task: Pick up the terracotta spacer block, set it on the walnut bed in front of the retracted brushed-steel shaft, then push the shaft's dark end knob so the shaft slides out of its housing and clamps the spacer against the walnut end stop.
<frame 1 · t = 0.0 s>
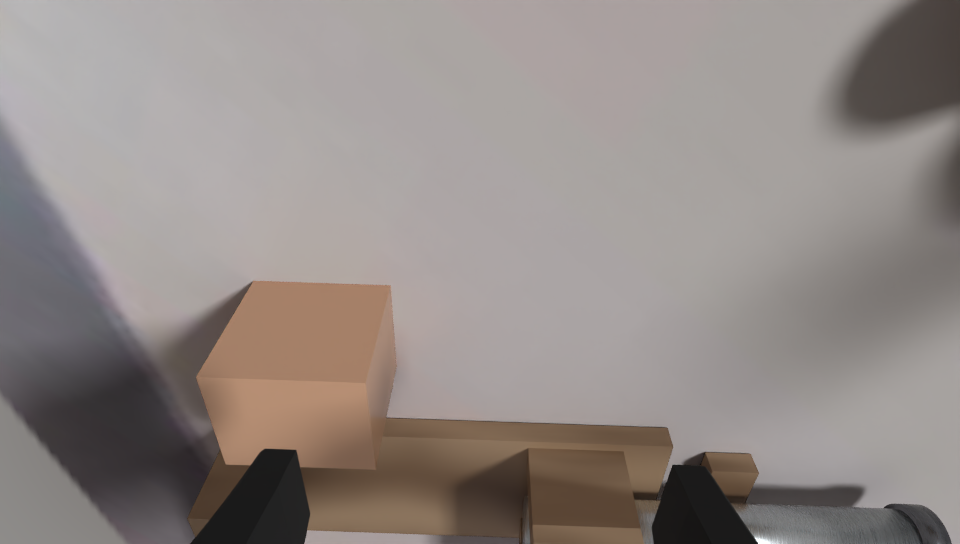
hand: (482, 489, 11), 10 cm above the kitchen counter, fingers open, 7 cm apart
spacer: (329, 324, 22), on the kitchen counter
shaft: (724, 535, 25), point 3 cm above the kitchen counter, slide at 0.0 cm
rig: (479, 472, 27), on the kitchen counter
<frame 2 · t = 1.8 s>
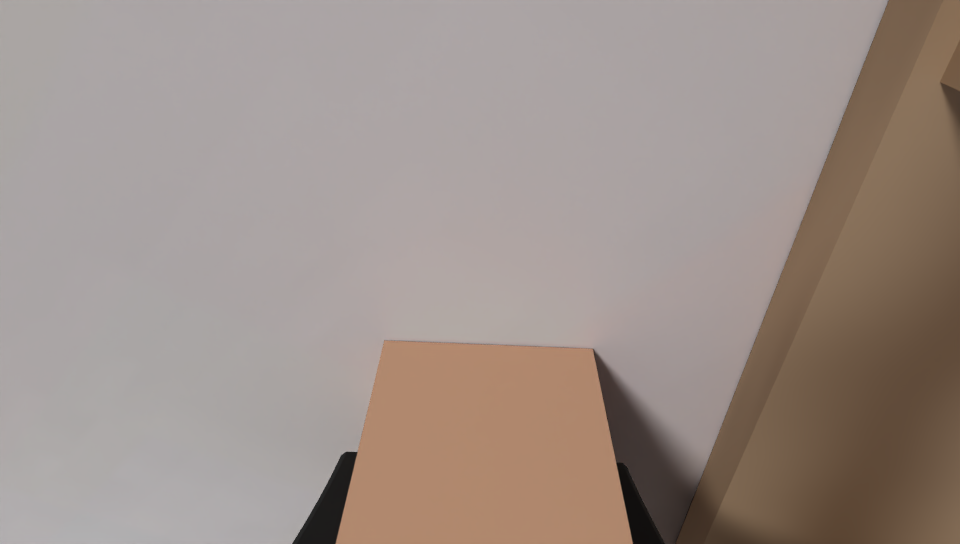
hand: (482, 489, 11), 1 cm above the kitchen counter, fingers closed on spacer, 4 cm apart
spacer: (483, 432, 13), on the kitchen counter, touching gripper
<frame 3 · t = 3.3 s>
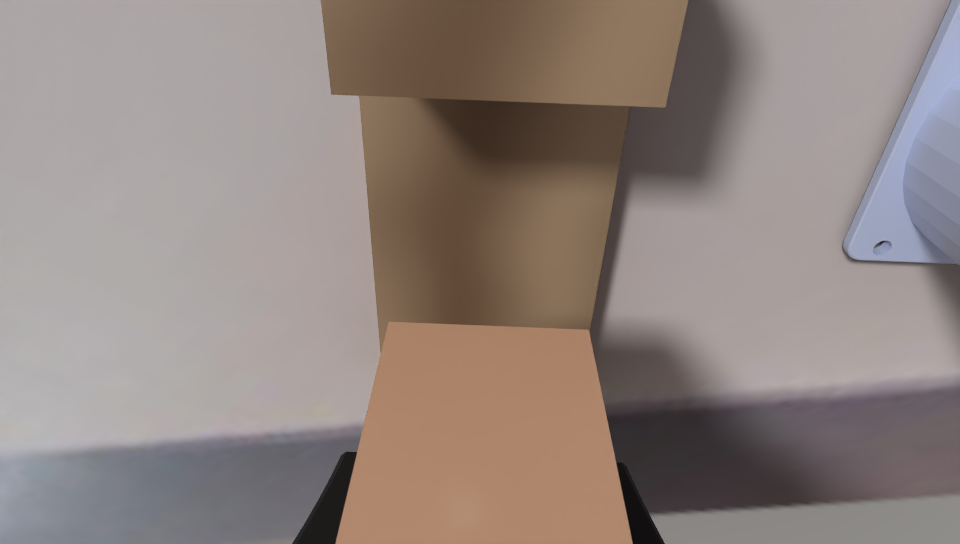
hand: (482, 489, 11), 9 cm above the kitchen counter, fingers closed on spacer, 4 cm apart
spacer: (484, 412, 13), point 7 cm above the kitchen counter, touching gripper
rig: (493, 113, 16), on the kitchen counter
when the fingers open (3 cm above the kitchen counter, at t = 4.7 s): spacer stays where it is, resting on rig.
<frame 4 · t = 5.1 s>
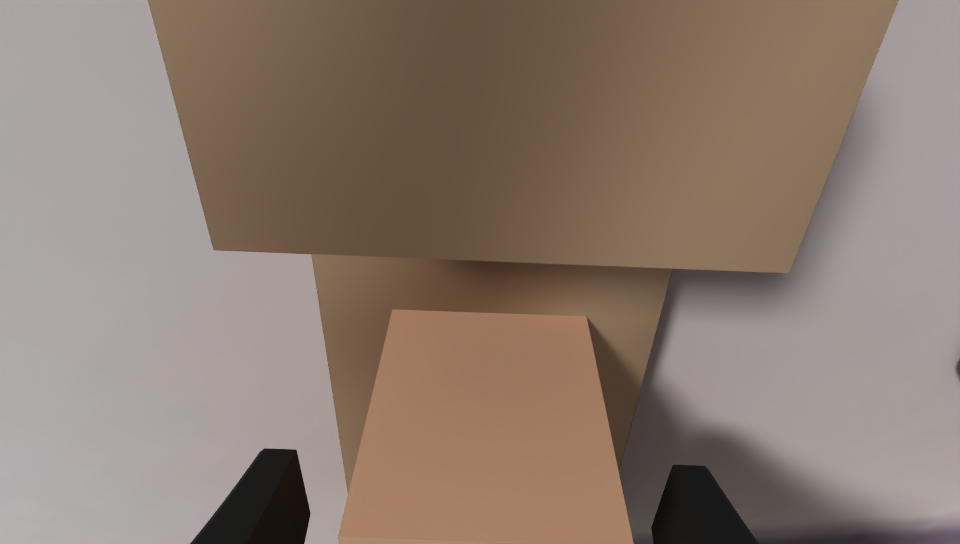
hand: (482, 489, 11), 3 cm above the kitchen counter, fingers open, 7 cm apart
spacer: (485, 398, 13), point 1 cm above the kitchen counter, touching rig
rig: (493, 203, 12), on the kitchen counter
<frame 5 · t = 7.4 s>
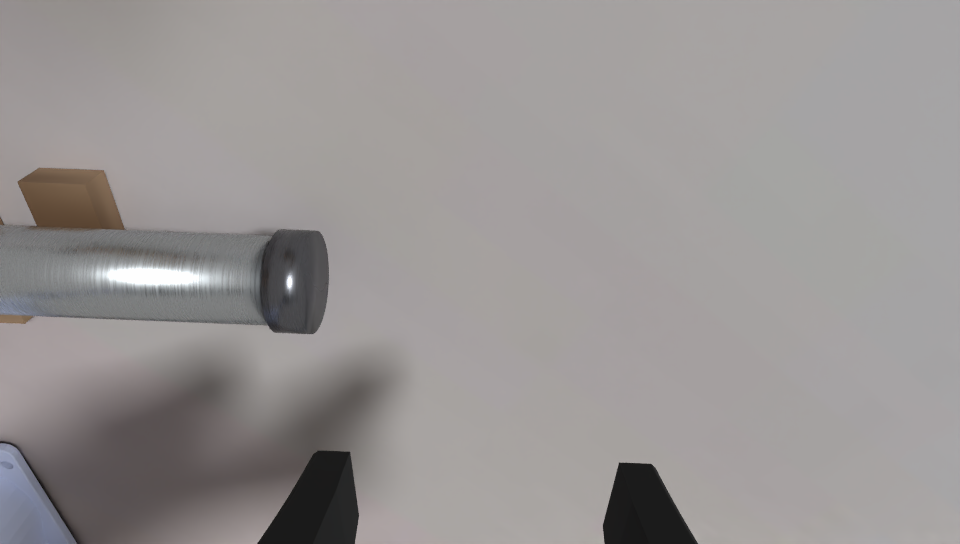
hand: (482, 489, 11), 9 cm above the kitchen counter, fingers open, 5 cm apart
shaft: (23, 270, 17), point 3 cm above the kitchen counter, slide at 0.0 cm
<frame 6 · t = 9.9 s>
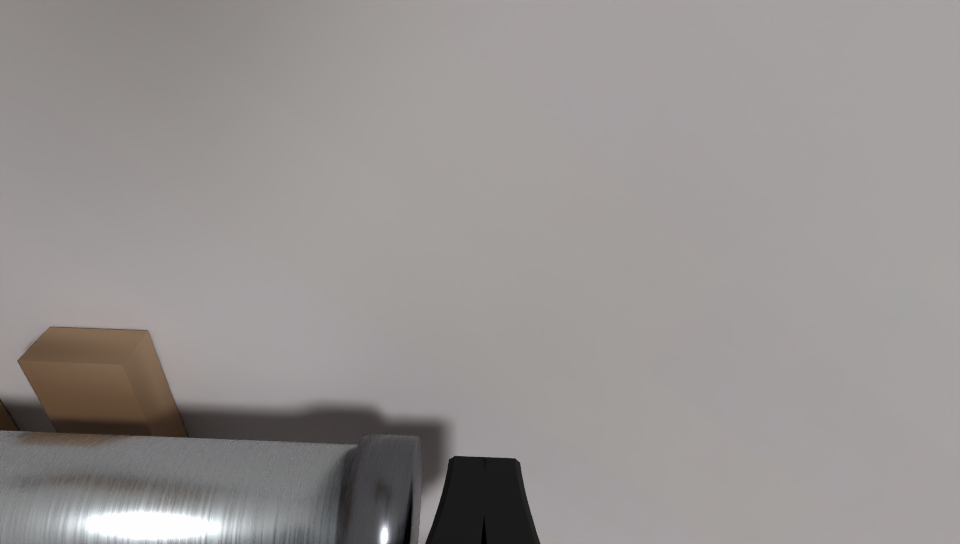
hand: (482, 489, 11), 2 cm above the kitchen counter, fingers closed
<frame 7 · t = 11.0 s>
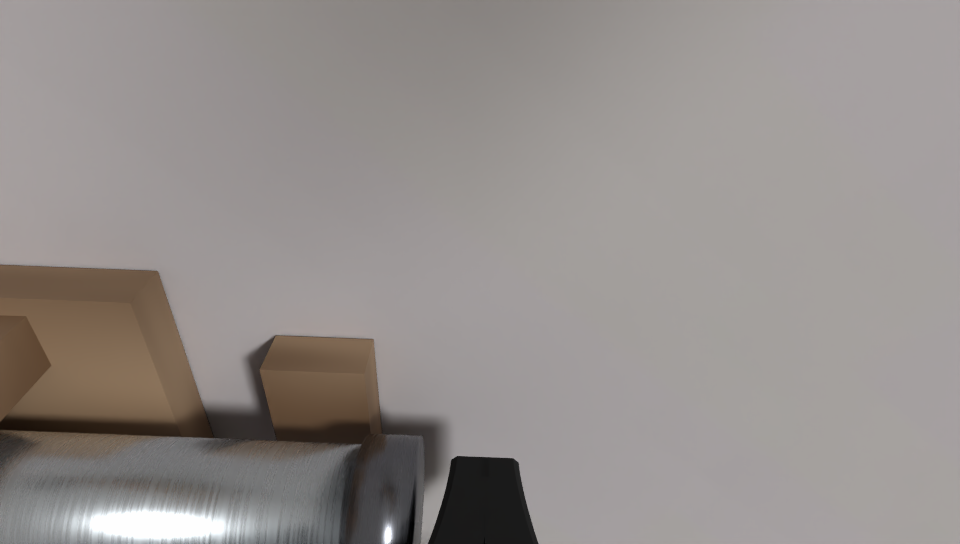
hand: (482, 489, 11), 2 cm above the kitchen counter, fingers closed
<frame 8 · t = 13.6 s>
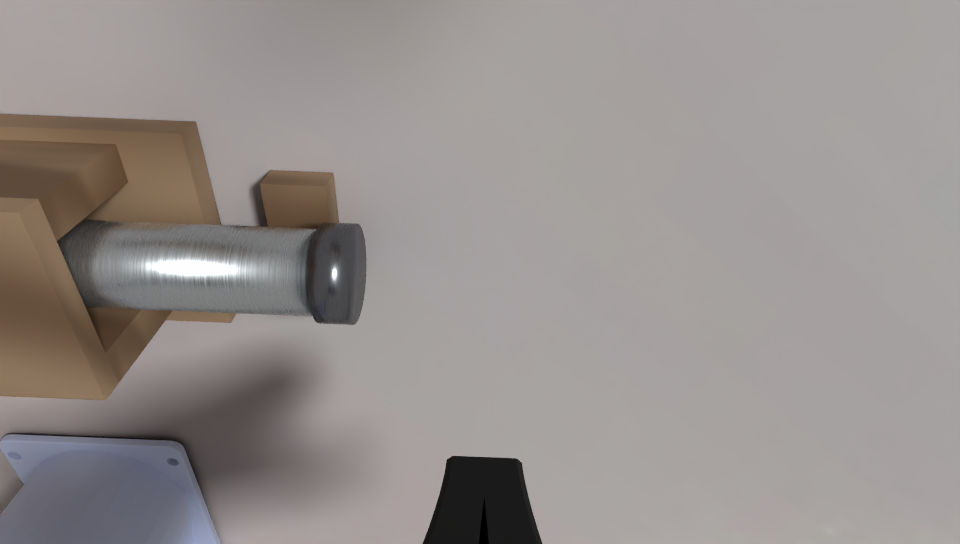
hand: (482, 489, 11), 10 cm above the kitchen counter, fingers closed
shaft: (71, 262, 17), point 3 cm above the kitchen counter, slide at 5.9 cm, touching spacer
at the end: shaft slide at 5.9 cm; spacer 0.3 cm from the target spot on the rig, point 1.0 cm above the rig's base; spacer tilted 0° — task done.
